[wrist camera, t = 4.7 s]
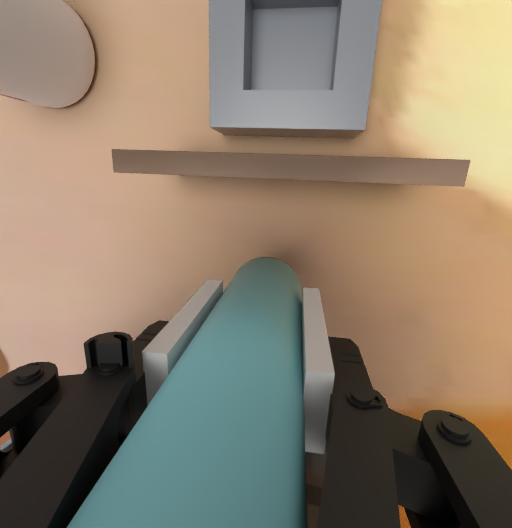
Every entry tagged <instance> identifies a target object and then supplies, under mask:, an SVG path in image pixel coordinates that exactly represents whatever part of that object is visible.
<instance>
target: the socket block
mask: <svg viewBox="0 0 512 528" xmlns="http://www.w3.org/2000/svg"><path fill="white" fill-rule="evenodd" d="M381 6H382V0H209V87H210V127H211V128H213V129H214V130H216V131H218V132H220V133H222V134H224V135H249V136H294V137H338V138H355V137H356V136H358V135H359V134H360V133H362V132H363V131H365V128H366V121H367V113H368V105H369V98H370V90H371V82H372V75H373V67H374V59H375V52H376V44H377V36H378V29H379V21H380V13H381Z"/></svg>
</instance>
